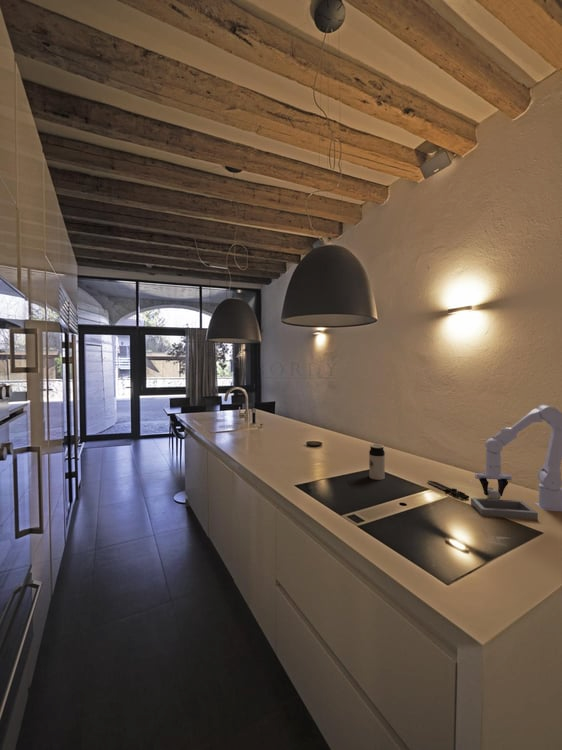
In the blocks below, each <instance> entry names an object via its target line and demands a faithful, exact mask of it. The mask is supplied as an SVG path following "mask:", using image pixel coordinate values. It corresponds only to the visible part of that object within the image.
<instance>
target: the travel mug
mask: <svg viewBox="0 0 562 750" xmlns="http://www.w3.org/2000/svg"><path fill="white" fill-rule="evenodd" d="M369 447H370V449H369V451H368V453H369V455H368V457H369V459H368V461H369V462H368V463H369V464H368V467H369V469H368V470H369V471H368V472H369V478H370V479H372V480H377V481H382V480H384V479H385V478H386V477H385V474H386V470H385V466H386V465H385V463H386V461H385V460H386V458H385V455H386V454H385V453H386V452H385V450H384V448H385V445H384V444H380V443H373V444H370V445H369Z"/></svg>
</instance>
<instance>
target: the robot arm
mask: <svg viewBox="0 0 562 750" xmlns="http://www.w3.org/2000/svg"><path fill="white" fill-rule="evenodd" d="M544 421H545V422H546V423H547V424H548V426H550V427H551V432H550V436H549V441H548V446H547V450H546V457H545V459H544V460H545V461H544V463H543V465H542V467H541V469H540V470H539V471H538V472H537V478H538V480H539V481H540V483H539V484H538V502H533V504H534V505H536V506H538V507H539V508H540V509H542V510H543V511H552V512H562V472H561V464H562V412H561V411H560V410H559V409H558V408H557V407H555V406H551V405H549V404H540V405H538V406H537V407H536V408H533V409H532V410H531V411H529V412H528V413H527V414H526V415H524V416H523V417H522V418H520V420H518V421H517V422H516V423H514V424H513V425H512V426H511V427H507V426H505V427H504V428H503V427H502V428H501V429H500V430H499V432H497V433H496V434H495V435H491V437H490V438H488V439H486V441H485V443H484V446H485V448H486V450H485V451H486V452H485V472H482V473H479V472H477V473H474V478H475V479H476V480H479V482H480V484H481V486H482V489H483V494H484V495H485V496H486V495H488V488H489V483H490V481H488V480H497V486H498V487H497V488H498V490H497V491H498V492H499V493H500V495H501V497H503V494H504V491H505V488H506V487H507V486H508V484H509V482H510V481H511V482H512V481H513V476H512V475H511V474H503V473H501V471H502V466H501V465H502V459H501V458H502V457H501V452H502V451H503V447H506V446H507V445H509V443H512V442H513V441H514V440H515V439H516V438H517V436H518V433H519V432H522V431H523V430H524V429H526V428H528V427H529V426H530V425H532V424H533V423H543V422H544Z"/></svg>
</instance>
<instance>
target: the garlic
mask: <svg viewBox="0 0 562 750" xmlns="http://www.w3.org/2000/svg"><path fill="white" fill-rule="evenodd" d="M485 496H486V497H487V499H499V500H501V497H502V496H501V495H500V493H499V492H498V490H497V489H495V488H493V487H488V495H485Z"/></svg>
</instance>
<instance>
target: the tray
mask: <svg viewBox="0 0 562 750" xmlns="http://www.w3.org/2000/svg"><path fill="white" fill-rule="evenodd" d="M470 505H472V507H473V506H474V507H475V508H476V509H477V510H478V511H477V510H476V509H475V508H474V507H473V508H474V509H475V510H476V511H477V512H478V513H479V514H480V515H481V516H484V517H485V516H486V517H495V518H496V517H497V518H507V519H508V518H510V519H518V520H519V519H521V520H530V521H531V520H532V521H538V520H539V519H538V516H539V514H538V512H537V511H536V510H535V509H533V508H532V507H530V506H529V505H528V504H527V503H525V502H524V501H523V500H514V499H513V500H512V499H511V500H510V499H489V498H483V497H482V498H479V497H470Z"/></svg>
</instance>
